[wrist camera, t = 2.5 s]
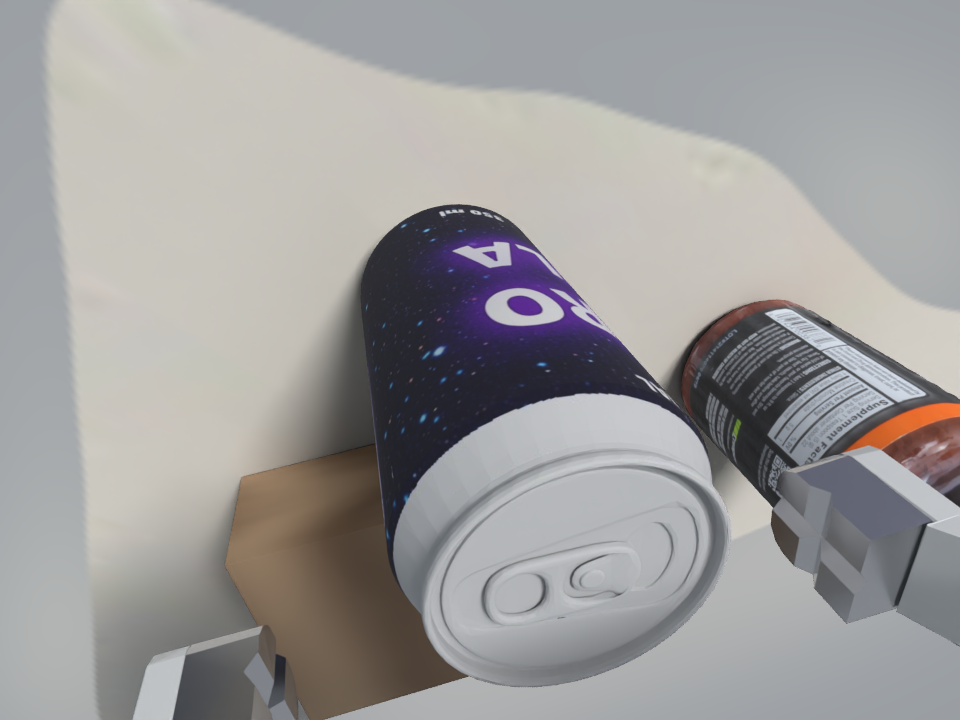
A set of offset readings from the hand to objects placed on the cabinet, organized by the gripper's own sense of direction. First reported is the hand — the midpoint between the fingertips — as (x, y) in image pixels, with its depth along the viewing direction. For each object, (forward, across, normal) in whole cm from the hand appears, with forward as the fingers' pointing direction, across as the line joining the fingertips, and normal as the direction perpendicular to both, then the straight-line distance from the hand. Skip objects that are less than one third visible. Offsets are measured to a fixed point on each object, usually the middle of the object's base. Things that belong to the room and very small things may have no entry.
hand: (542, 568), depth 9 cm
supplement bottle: (+12, -12, +6) cm, 18 cm away
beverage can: (+12, -1, 0) cm, 12 cm away
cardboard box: (+12, +3, +10) cm, 16 cm away
